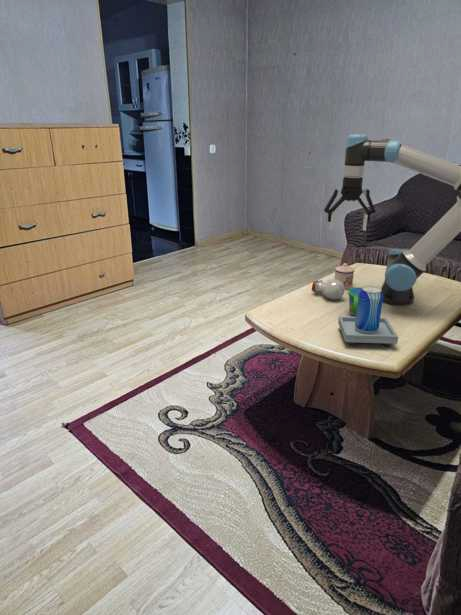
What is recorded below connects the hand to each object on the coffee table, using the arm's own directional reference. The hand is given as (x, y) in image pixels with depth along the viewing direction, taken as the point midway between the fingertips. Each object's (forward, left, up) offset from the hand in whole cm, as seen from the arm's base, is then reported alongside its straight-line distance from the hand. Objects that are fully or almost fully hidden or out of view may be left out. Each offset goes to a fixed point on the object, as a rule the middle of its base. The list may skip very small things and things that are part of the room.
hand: (347, 229), depth 180 cm
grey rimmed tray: (-4, +34, -33) cm, 47 cm away
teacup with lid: (-6, -22, -33) cm, 40 cm away
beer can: (-4, +34, -29) cm, 45 cm away
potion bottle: (+4, -6, -33) cm, 34 cm away
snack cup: (-6, +12, -33) cm, 36 cm away
